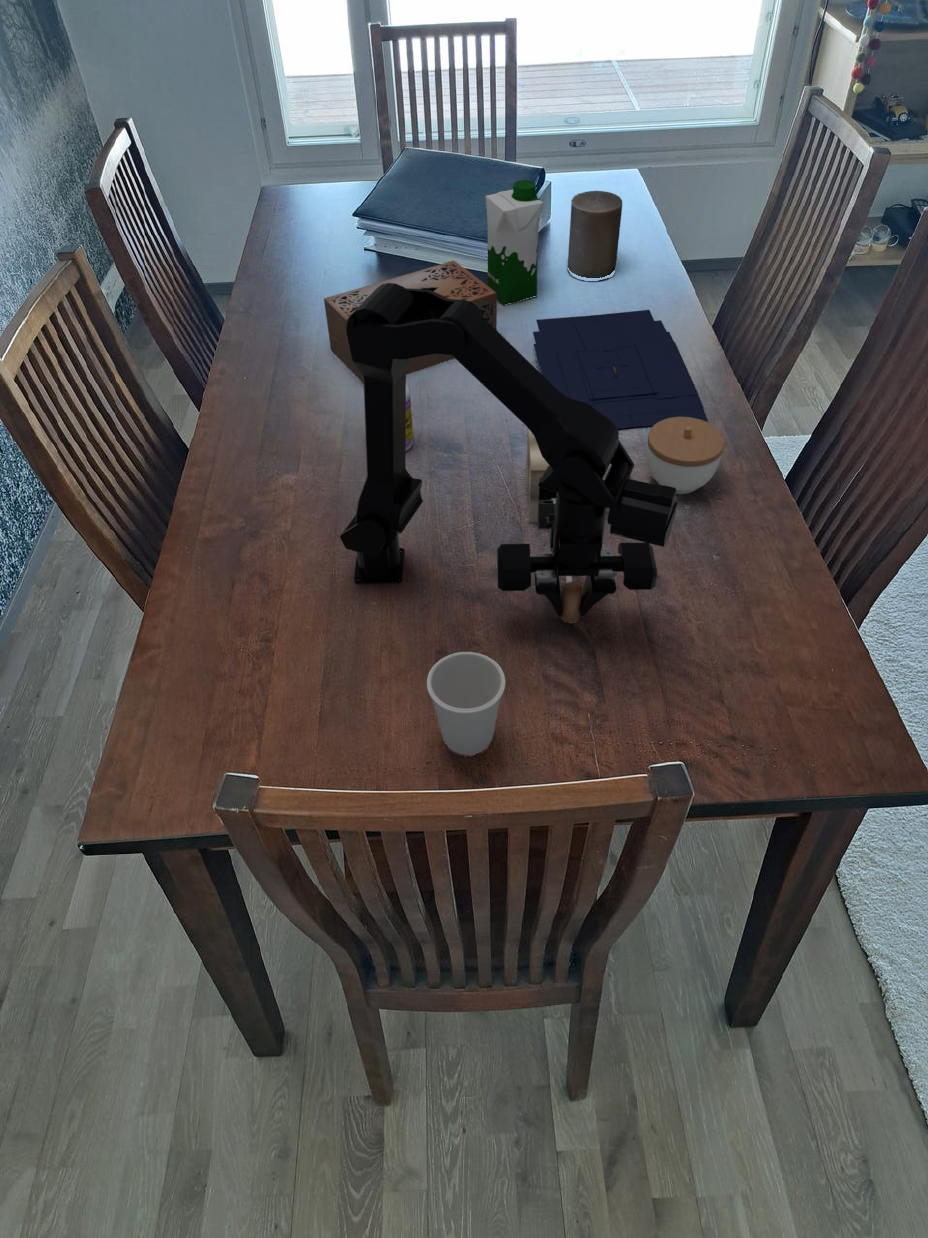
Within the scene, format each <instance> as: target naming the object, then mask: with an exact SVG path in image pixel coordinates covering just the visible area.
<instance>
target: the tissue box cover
mask: <svg viewBox="0 0 928 1238" xmlns="http://www.w3.org/2000/svg"><path fill="white" fill-rule="evenodd" d="M386 283H395V284H398V285H400V286H403V287H404V288H409V289H425V290H432V291H434V292H436V293H438V294H440V295H442V296H444V297H446V298H449V299H458V300H467V301H471V302H473V303H474V304H475V305H477V306H478V308H479V309H480V310H481V313H482V316H483V318H484V319H485V320H486V321H487V322H488V323H489V324H490V325H492V326H493V327H494V328H495V329H496V330H497V314H498V311H497V310H498V308H497V307H498V305H497V304H498V300H497V293H496V292H495V291H494V290H492V289H491V288H490V287H488V284H486V283H484V282H483V281H482V280H480V278H478V277H476V276H475V274H472V273H471V272H470V271H469V270H467V269H466V268H465V267H463V266H462V265H461V264H459V263H458V262H457V261H455V260H450V261H448V262H444V263H441V264H437V265H434V266H429V267H427V268H424V269H419V270H416V271H414V272H410V273H406V274H403V275H400V276H399V275H398V276H397V277H392V278H389V279H387V280H386V279H385V280H382V281H379V282H375V283H372V284H369V285H366V286H365V285H364V286H361V287H359V288H355V289H352V290H348V291H345V292H341V293H338V294H334V295H332V296H327V297H325V298H323V303H324V309H325V317H326V324H327V331H328V332H327V333H328V336H329V337H328V339H329V345H330V346H329V347H330V351H331V352H332V353H333V354H335V356H336V357H337V358H338V359H339V360H340V361H341V362H342V363H343V364H344V365H345V366H346V367H347V368H348V369H349V370H350V371H351V372H352V374H354V376H355V377H356V378H358V380H359V381H360V382H362V384H363V385H364V380H363V375H362V373H361V372H360V371H359V369H358V368H357V367H356V365H355V364H354V362H353V361H352V359H351V355H350V350H349V346H348V341H347V336H346V330H345V327H346V322H347V319H348V318H349V317H350V315H351V314H352V313H353V312H354V311H355V310H356V309H357V308H358V307H359V306H360V305H361V304H362V303H363V302H364V301H365V300H366V299H367V298H368V297H369V296H370V295H371V293H372V292H373V291H374V290H375V289H376V288H378V287H379V286H380V285H382V284H386ZM497 331H498V330H497ZM454 359H455V358H454V357H453V356H452V355H445V354H431V355H425V356H420V357H414V358H410V359H409V362H408V365H407V368H406V376H407V375H409V374H413V373H416V372H419V371H422V370H425V369H428V368H431V367H434V366H436V365H439V364H440V365H441V364H443V363H445V362H448V361H451V360H454ZM455 360H456V359H455Z"/></svg>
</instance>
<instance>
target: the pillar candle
mask: <svg viewBox="0 0 928 1238" xmlns="http://www.w3.org/2000/svg"><path fill="white" fill-rule="evenodd" d="M570 207H571V208H570V223H569V236H568V237H569V238H568V239H569V240H568V251H567V252H568V253H567V267H568V268H569V270H570V271H571V272H572V273H574V274H576V275H578V276H581V277H586V278H600V277H601V278H602V277H605V276H607V275H610V274H611V273H612V272H613V271H614V270H615V268H616V269H617V267H616V266H617V261H618V248H619V241H620V240H619V239H620V231H621V229H620V228H621V221H622V211H623V200H622V198H621V196H619V195H617V194H616V193H613V192H611V191H604V190H588V191H584V192H579V193H577V194H575V195H573V197H572V199H571V205H570Z"/></svg>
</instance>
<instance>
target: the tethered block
mask: <svg viewBox="0 0 928 1238" xmlns="http://www.w3.org/2000/svg"><path fill="white" fill-rule="evenodd" d="M550 500H553V504H555V503H556V497H554V498H553V497H551V499H550ZM550 536H551V529H549V537H550ZM549 550H550V551H553V548H551V546H550V545H549ZM561 593H562V594H561V599H562V609H563V613H562V617H560V619H561V621H563V620H564V621H566V622H575V621H577V620H578V619H579V620H580V617H581V616H580V606H581V597H582V593H583V587H582V585H581V584H580V583H578V582H574V581H573V576H565V584H564V585H563V586H562V592H561ZM579 620H578V621H579ZM564 621H563V622H564ZM578 621H577V622H578ZM566 622H565V623H566ZM575 623H576V622H575Z"/></svg>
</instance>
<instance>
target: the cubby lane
mask: <svg viewBox="0 0 928 1238" xmlns="http://www.w3.org/2000/svg"><path fill="white" fill-rule="evenodd" d="M526 433H527V436H526V437H527V439H526V460H525V461H526V463H525V464H526V465H525V478H526V480H525V481H526V494H527V495H526V496H527V509H528V510H527V511H528V523H538V500H540V488H539V486H538V484H539V482H540V480H541V478H542V476H543V475H544V473H545V471H546V469H547V467H548V466H549V464H548V463H547V462H546V461H545V459H544V458H543V457H542V455H541V452H540V450H539V447H538V445H537V442H536V439H535V437H534V435H533V434H532V432H531V431H530V430H529V429H528V428H527V432H526Z"/></svg>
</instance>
